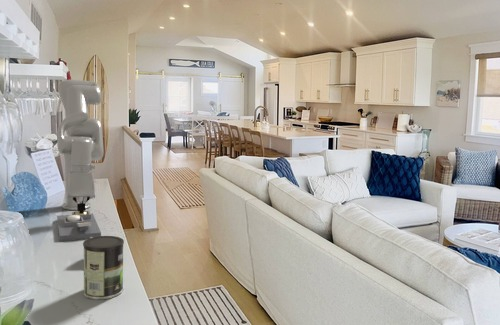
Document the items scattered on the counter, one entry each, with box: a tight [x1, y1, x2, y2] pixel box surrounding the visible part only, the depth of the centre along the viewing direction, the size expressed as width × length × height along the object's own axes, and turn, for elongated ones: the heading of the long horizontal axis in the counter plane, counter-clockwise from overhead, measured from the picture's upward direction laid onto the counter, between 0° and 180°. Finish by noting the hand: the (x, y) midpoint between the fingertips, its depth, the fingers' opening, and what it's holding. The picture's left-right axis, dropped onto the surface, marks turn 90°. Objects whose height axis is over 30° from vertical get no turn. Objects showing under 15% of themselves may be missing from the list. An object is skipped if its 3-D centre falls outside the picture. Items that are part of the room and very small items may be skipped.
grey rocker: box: [77, 222, 91, 227], centre depth 159 cm, size 9×4×1 cm, turn 27°
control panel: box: [56, 210, 102, 242], centre depth 167 cm, size 28×14×4 cm, turn 26°
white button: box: [67, 214, 80, 222], centre depth 166 cm, size 5×5×2 cm
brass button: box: [75, 210, 88, 215], centre depth 176 cm, size 5×5×2 cm
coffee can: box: [82, 235, 125, 301], centre depth 114 cm, size 10×10×14 cm
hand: (81, 212), depth 175 cm, fingers closed
